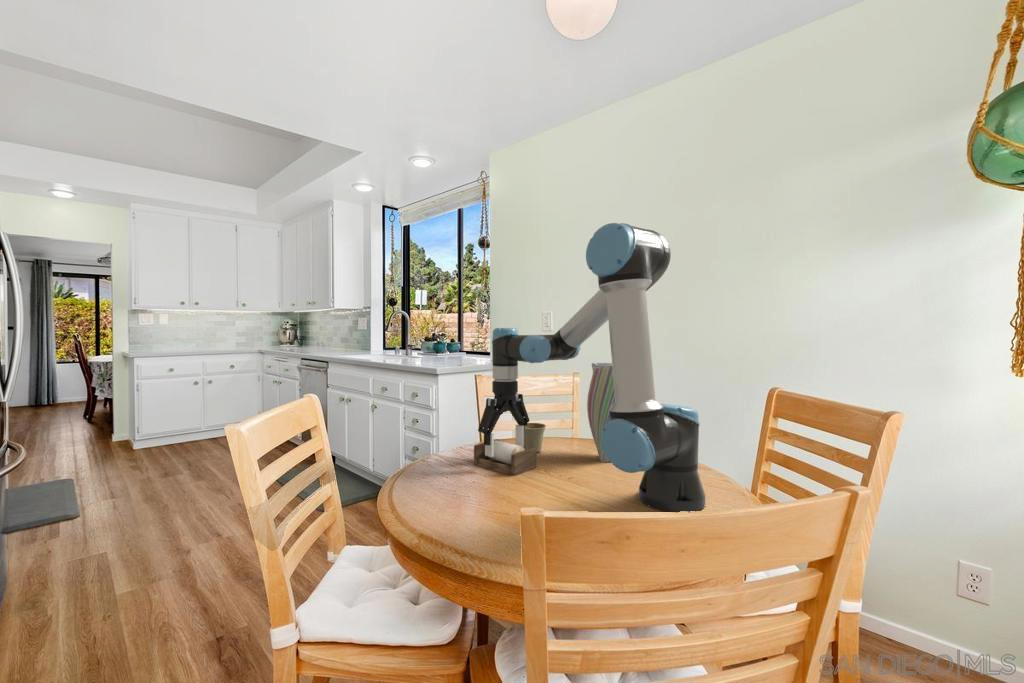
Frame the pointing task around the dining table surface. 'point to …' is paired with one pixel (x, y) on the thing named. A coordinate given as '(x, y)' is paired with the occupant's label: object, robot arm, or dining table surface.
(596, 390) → the vase
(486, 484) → the dining table surface
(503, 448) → the roll
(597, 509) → the dining table surface
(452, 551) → the dining table surface
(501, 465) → the cradle
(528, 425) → the flower pot
